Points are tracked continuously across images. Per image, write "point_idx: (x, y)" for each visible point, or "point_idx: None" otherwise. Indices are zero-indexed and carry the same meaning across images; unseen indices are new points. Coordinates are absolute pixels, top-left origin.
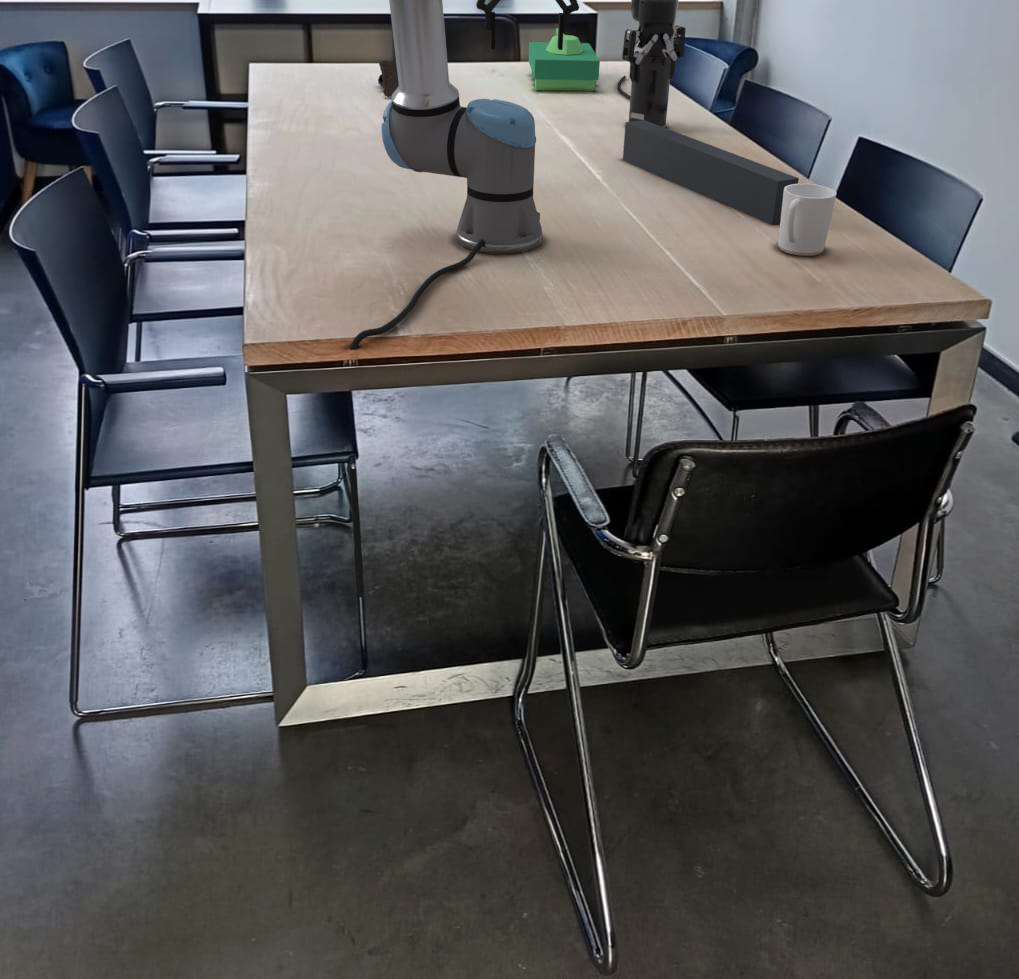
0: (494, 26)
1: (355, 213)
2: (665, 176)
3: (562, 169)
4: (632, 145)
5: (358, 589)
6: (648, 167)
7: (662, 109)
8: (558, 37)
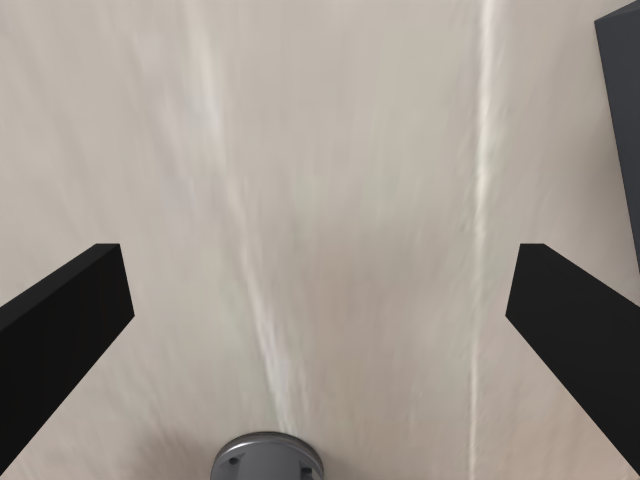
0: (50, 410)
1: None
2: (627, 191)
3: (415, 118)
4: (636, 56)
5: None
6: (619, 131)
7: None
8: (550, 306)
